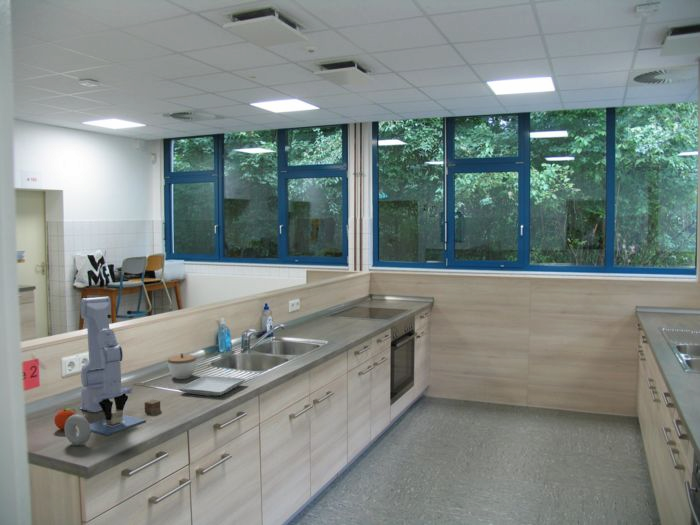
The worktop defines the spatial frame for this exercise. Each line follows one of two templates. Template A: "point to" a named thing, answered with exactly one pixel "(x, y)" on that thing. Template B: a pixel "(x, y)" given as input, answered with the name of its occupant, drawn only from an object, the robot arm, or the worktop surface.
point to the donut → (82, 426)
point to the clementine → (63, 417)
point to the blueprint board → (115, 425)
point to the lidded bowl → (182, 366)
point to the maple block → (115, 416)
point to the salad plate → (211, 385)
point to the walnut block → (152, 406)
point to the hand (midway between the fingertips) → (113, 417)
